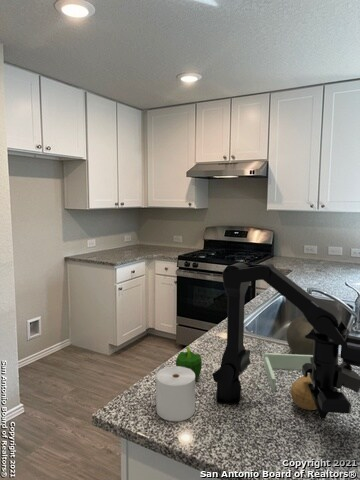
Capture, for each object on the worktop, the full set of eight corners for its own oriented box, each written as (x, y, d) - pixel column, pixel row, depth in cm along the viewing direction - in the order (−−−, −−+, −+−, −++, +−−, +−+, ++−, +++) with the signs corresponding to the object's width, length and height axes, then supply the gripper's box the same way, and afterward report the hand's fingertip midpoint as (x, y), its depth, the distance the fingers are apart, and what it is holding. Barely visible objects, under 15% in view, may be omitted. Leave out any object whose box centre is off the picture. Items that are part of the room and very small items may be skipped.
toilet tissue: (183, 427, 87) (183, 389, 86) (144, 412, 93) (144, 377, 92) (201, 405, 96) (201, 371, 95) (165, 394, 102) (165, 361, 101)
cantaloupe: (282, 360, 125) (283, 320, 123) (289, 346, 137) (290, 309, 135) (324, 368, 118) (326, 326, 117) (327, 353, 130) (329, 314, 129)
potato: (334, 400, 99) (336, 373, 98) (320, 424, 88) (322, 394, 87) (300, 388, 105) (301, 364, 104) (283, 410, 94) (284, 382, 93)
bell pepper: (199, 386, 106) (200, 355, 105) (173, 384, 108) (173, 353, 107) (203, 373, 114) (203, 345, 113) (179, 371, 116) (179, 342, 115)
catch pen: (271, 391, 103) (272, 375, 103) (264, 366, 119) (264, 353, 119) (337, 395, 102) (338, 379, 101) (320, 369, 117) (321, 355, 117)
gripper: (378, 379, 74) (373, 446, 75) (345, 344, 92) (342, 399, 94) (324, 376, 75) (321, 443, 76) (302, 342, 93) (300, 396, 95)
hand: (322, 418), depth 85 cm, fingers closed
